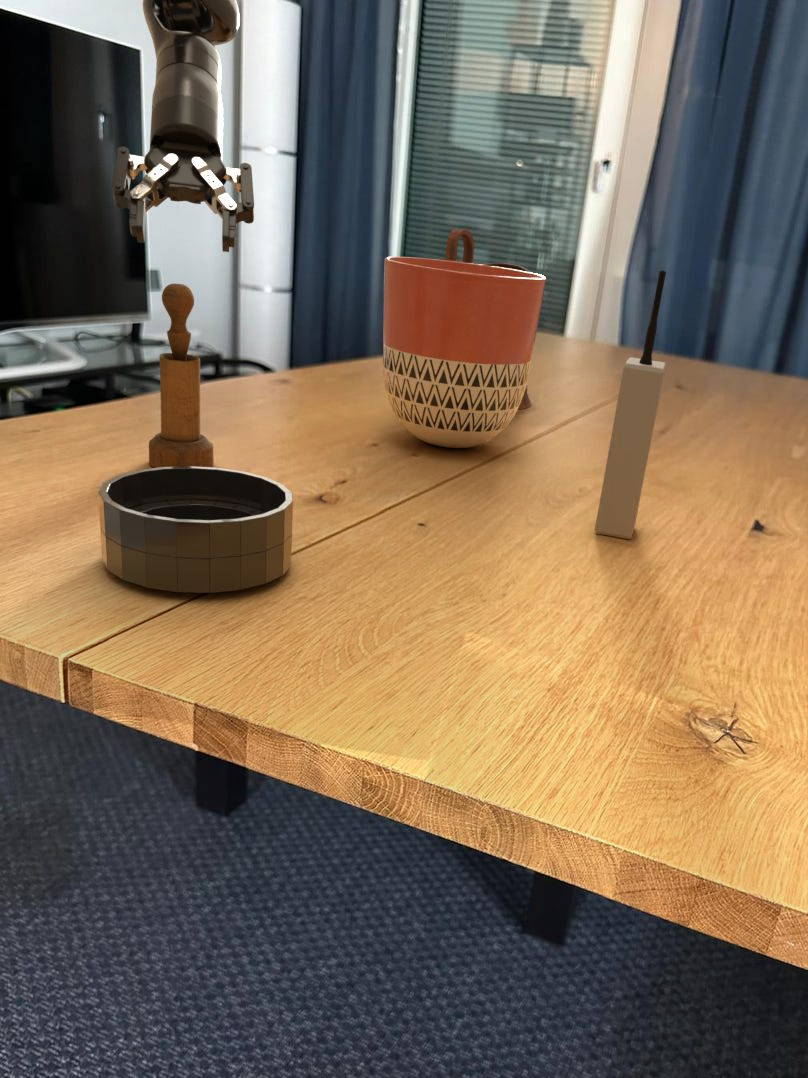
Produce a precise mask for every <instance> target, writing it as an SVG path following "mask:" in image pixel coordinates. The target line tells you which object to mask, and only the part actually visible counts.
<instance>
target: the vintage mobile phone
mask: <svg viewBox="0 0 808 1078" xmlns="http://www.w3.org/2000/svg"><path fill="white" fill-rule="evenodd" d="M666 275H667V271H666V270H664V269H661V270H659V271H658V277H657V282H656V288H655V292H654V299H653V304H652V310H651V314H650V319H649V322H648V326H647V329H646V335H645V341H644V346H643V351H642V355H641V357H640V358H639V357H633V356H630V357H628V359H627V360H626V362H625V364H624V365H623V367H622V368H623V369H622V373H621V379H620V386H619V390H618V396H617V400H616V401H617V402H616V408H615V413H614V418H613V425H612V431H611V435H610V441H609V446H608V453H607V459H606V464H605V470H604V475H603V481H602V485H601V491H600V492H601V493H600V498H599V503H598V509H597V515H596V521H595V526H594V532H595V534H597V535H603V536H608V537H613V538H619V539H624V540H625V539H626V540H630V539H632V537H633V533H634V530H635V526H636V523H637V518H638V512H639V507H640V501H641V496H642V490H643V487H644V486H643V485H644V482H645V481H644V480H645V475H646V470H647V465H648V461H649V460H648V459H649V455H650V450H651V445H652V439H653V435H654V429H655V424H656V419H657V415H658V411H659V410H658V409H659V404H660V400H661V395H662V389H663V385H664V380H665V374H666V369H667V363H666V361H665V362H664V361H656V360H653V350H654V346H655V340H656V334H657V330H658V317H659V312H660V306H661V302H662V301H661V300H662V296H663V290H664V285H665V280H666Z"/></svg>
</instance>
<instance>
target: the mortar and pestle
mask: <svg viewBox="0 0 808 1078" xmlns="http://www.w3.org/2000/svg"><path fill="white" fill-rule="evenodd" d="M161 301H162V302H161V303H162V305H163V307H164V309H165V310H166V312H167V314H168V316H169V318H170V327H169V329H168V330H167V331H166V335H167V340H168V344H169V348H170V350H171V352H162V353H160V354H159V356H158V357H159V382H160V385H159V389H160V391H159V392H160V432H158V433H157V434H155V435H154V437H153V438H151V439H150V440H149V441H148V463H149V465H150V466H151V467H152V468H158V467H181V466H194V467H212V468H214V463H215V461H214V457H215V456H214V444H213V442H211V441H210V440H208V438H207V437H206V436H205V435H203V434H201V358H200V357H199V356H196V355H193V354H188V351H189V347H190V344H191V339H192V332H190V330H189V331H188V328H187V320H188V318H189V317H190V315H191V312H192V310H193V309H194V306H195V296H194V294H193V291H192V289H191V288H189V286H187V285H185V284H183V283H170V284H168V285H166V286H165V287H164V289H163V291H162V294H161Z"/></svg>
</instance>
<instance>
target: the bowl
mask: <svg viewBox="0 0 808 1078" xmlns="http://www.w3.org/2000/svg"><path fill="white" fill-rule="evenodd" d="M97 496H98V497H97V498H98V515H99V531H100V547H101V560H102V563H104V566H105V568H106V569H107V570H106V571H108V572H110V573H112V574H113V575H115V576H116V577H118V578H120V579H121V580H123V581H125V582H129V583H132V584H135V585H137V586H138V585H139V586H141V587H144V588H148V589H154V590H161V591H165V592H174V593H187V594H215V593H226V592H232V591H233V592H234V591H235V592H236V591H241V590H242V591H243V590H245V589H246V590H247V589H251V588H253V587H258V586H262V585H265V584H268V583H270V582H272V581H274V580H276V579H279V578H280V577H282V576H284V575H285V573H286V572H287V571H288V570H289V569H290V567H291V566H292V552H293V551H292V549H293V547H292V546H293V519H294V498H293V492H292V491H291V490H290V489H288V488H287V486H285V485H284V484H282V483H280V482H278V481H276V480H273V479H271V478H270V477H267V476H263V475H259V474H255V473H251V472H247V471H243V470H236V469H229V468H221V467H194V466H181V467H158V468H155V467H151V468H144V469H143V468H142V469H137V470H133V471H129V472H125V473H122V474H121V473H120V474H118V475H115V476H112V477H111V478H109V479H108V480H106V481H103V482H102V484H101V486H100V487H99V490H98V491H97Z"/></svg>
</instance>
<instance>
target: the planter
mask: <svg viewBox="0 0 808 1078" xmlns="http://www.w3.org/2000/svg"><path fill="white" fill-rule="evenodd" d="M546 282H547V277H546V276H544V275H542V274H538V273H533V272H531V273H529V272H524V271H519V270H513V269H507V268H500V267H494V266H487V265H484V264H479V263H473V264H472V263H464V262H462V261H456V262H455V261H446V260H445V259H437V258H436V259H435V258H425V257H410V256H387V257H385V258H384V270H383V323H382V325H383V327H382V328H383V329H382V370H383V371H382V372H383V373H382V374H383V381H384V387H385V392H386V396H387V400H388V402H389V406H390V407H391V410H392V412H393V414H394V415H395V416H396V418H397V419H398V420H399V423H401V424H402V426H403V427H404V428H405V429H406V430H407V431H408V432H409V433H410V434H412V435H413V436H414V437H416V438H417V439H418V440H421V442H425V443H427V444H430V445H433V446H437V447H441V448H446V449H447V448H449V449H469V448H474V447H478V446H481V445H483V444H485V443H487V442H489V441H490V440H492V439H494V437H496V436H497V435H499V434H500V433H501V432H502V431H504V430H505V428H507V426H508V425H509V424H510V423H511V422H512V420H513V419H514V417H515V415H517V414H516V413H517V411H518V410H519V409H518V407H519V405H520V403H521V400H522V397H523V395H524V392H525V388H526V385H528V378H529V375H530V374H529V373H530V369H531V363H532V360H533V359H532V358H533V354H534V349H535V344H536V338H537V331H538V326H539V322H540V316H541V311H542V306H543V301H544V296H545V289H546V285H547V283H546Z"/></svg>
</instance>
